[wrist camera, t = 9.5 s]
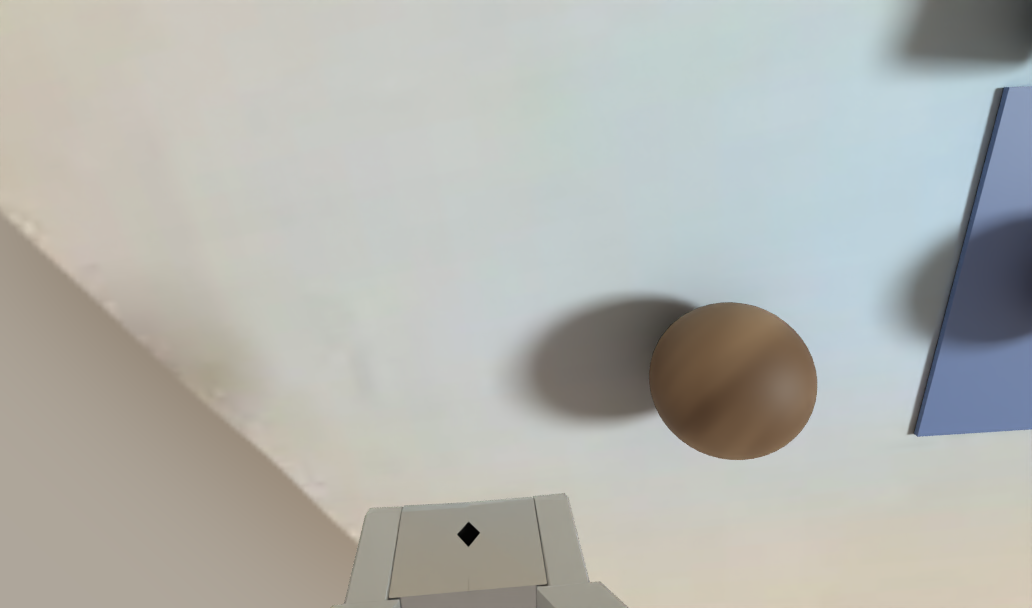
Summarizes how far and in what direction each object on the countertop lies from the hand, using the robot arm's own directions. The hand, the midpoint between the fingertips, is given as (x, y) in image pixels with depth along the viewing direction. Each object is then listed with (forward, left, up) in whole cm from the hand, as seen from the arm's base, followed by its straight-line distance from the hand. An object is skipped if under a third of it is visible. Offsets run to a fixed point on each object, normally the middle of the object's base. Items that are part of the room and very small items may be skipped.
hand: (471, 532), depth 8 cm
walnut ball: (+3, +9, -10) cm, 13 cm away
